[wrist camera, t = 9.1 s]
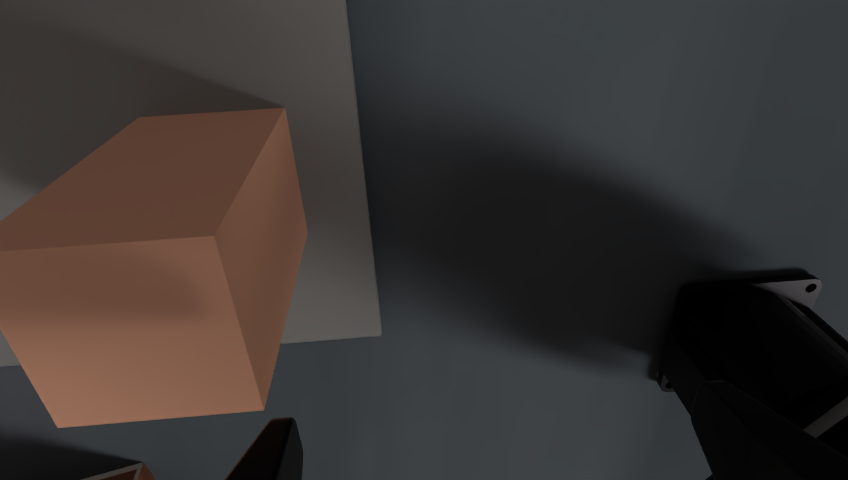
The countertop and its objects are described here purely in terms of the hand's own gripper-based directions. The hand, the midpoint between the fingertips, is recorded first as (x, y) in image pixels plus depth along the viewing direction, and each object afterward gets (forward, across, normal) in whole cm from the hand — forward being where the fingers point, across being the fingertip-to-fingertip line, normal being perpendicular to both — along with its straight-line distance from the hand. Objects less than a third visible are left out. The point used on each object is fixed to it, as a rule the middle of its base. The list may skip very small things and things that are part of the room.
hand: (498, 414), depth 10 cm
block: (+12, +8, 0) cm, 14 cm away
